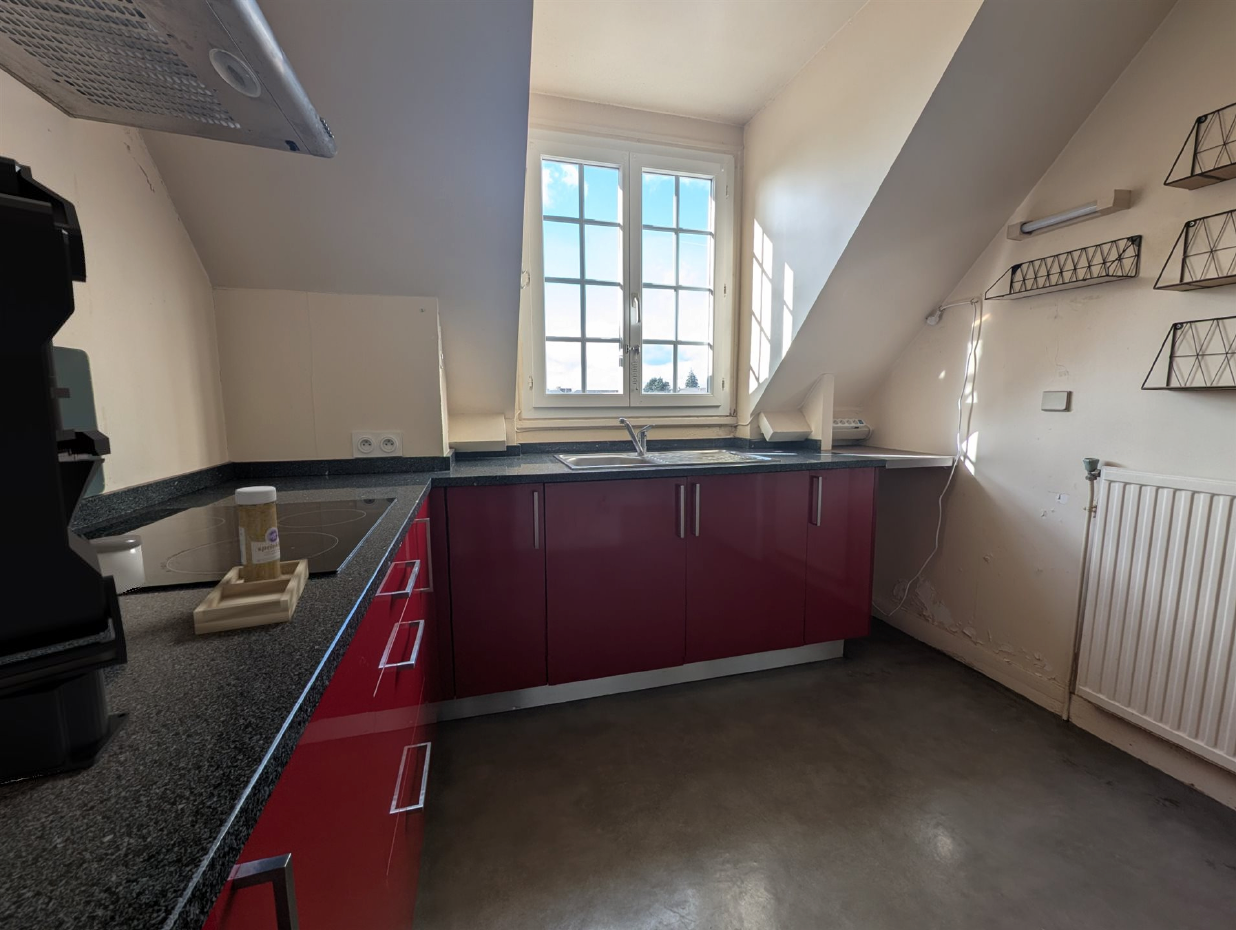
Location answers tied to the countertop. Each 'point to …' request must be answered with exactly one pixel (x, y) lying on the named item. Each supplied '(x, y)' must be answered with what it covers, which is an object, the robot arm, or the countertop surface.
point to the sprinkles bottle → (258, 533)
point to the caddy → (251, 599)
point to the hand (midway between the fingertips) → (35, 538)
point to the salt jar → (121, 560)
